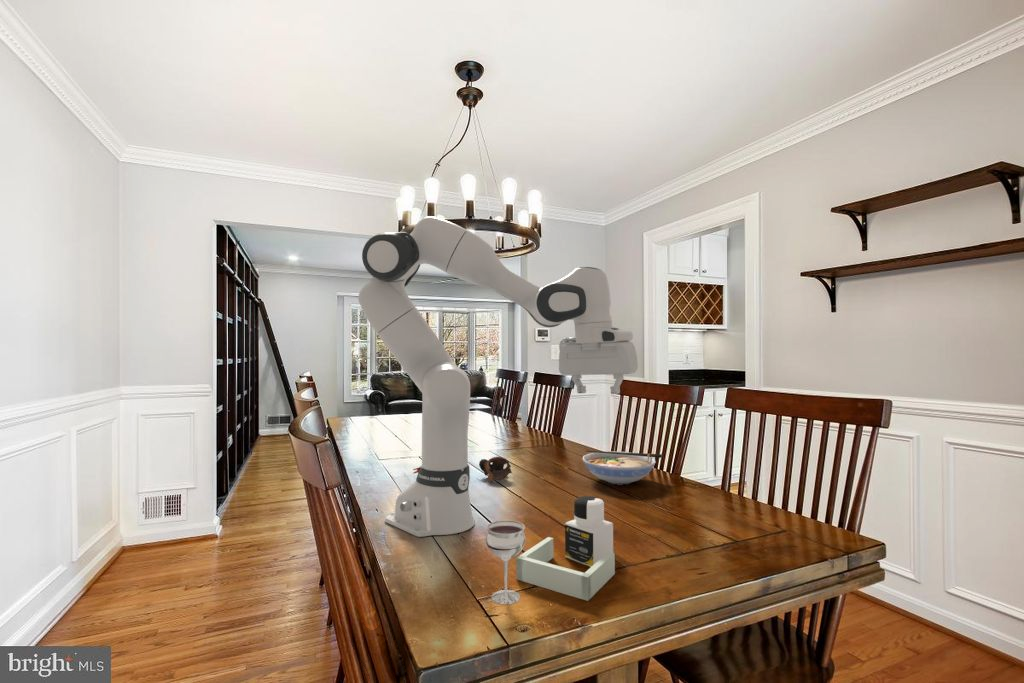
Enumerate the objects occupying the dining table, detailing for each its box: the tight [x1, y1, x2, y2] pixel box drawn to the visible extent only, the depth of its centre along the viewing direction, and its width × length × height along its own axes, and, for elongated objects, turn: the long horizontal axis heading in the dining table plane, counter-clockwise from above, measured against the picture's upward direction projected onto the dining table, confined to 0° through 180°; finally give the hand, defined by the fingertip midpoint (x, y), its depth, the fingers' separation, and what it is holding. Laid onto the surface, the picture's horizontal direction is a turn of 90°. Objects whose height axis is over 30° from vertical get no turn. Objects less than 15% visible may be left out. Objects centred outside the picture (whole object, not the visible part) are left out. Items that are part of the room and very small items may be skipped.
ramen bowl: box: [582, 450, 663, 486], centre depth 158 cm, size 25×23×8 cm
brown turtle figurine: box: [478, 456, 513, 484], centre depth 162 cm, size 12×10×8 cm
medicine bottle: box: [564, 495, 614, 568], centre depth 102 cm, size 7×7×12 cm
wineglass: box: [485, 519, 526, 605], centre depth 86 cm, size 7×7×12 cm
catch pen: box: [515, 536, 616, 602], centre depth 94 cm, size 14×12×4 cm
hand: (598, 393), depth 119 cm, fingers open, 8 cm apart
